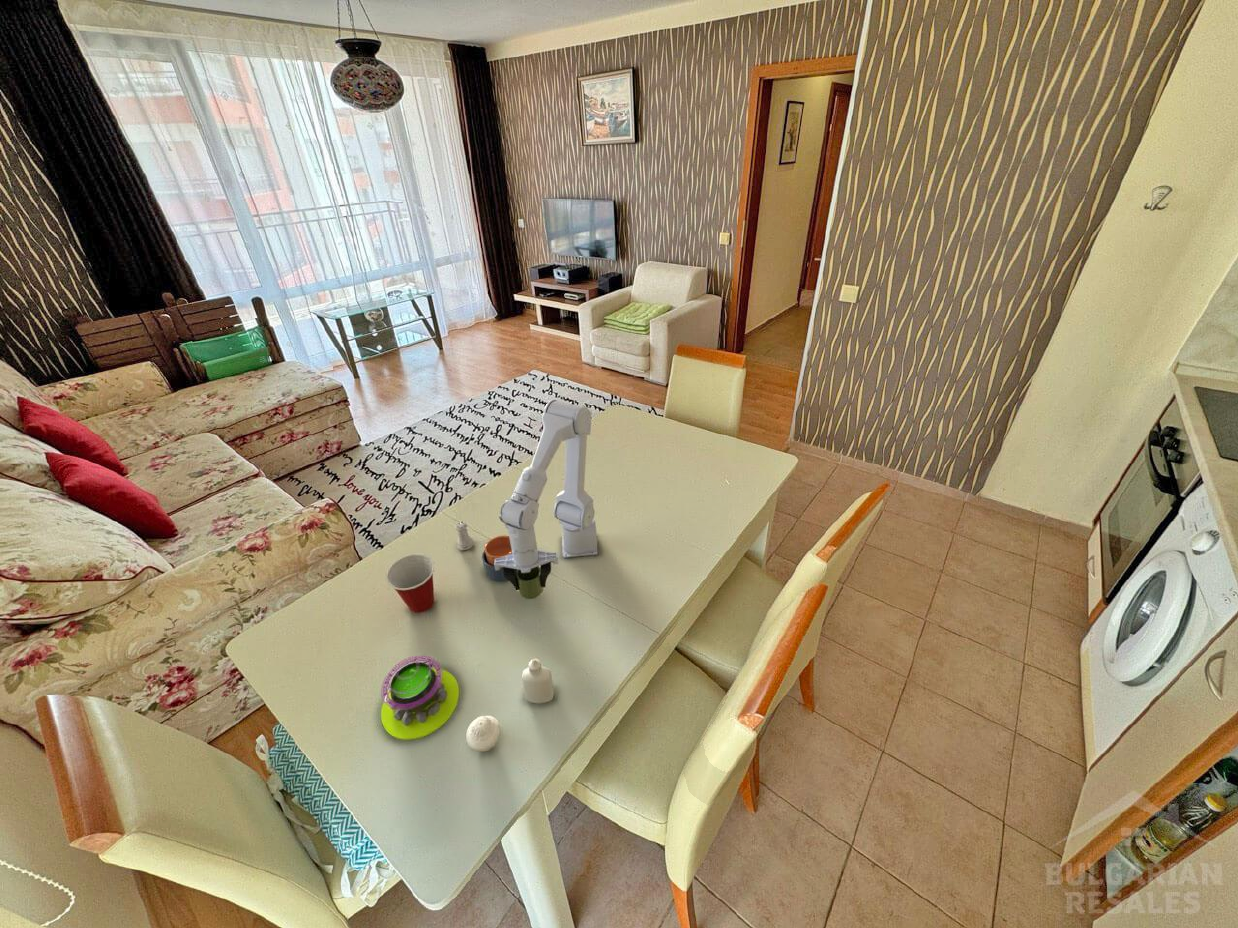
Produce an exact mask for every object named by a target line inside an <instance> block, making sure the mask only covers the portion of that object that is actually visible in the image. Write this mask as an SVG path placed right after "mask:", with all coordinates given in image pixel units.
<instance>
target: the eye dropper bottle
mask: <svg viewBox="0 0 1238 928" xmlns="http://www.w3.org/2000/svg"><path fill="white" fill-rule="evenodd" d="M521 682H522V686H523V691H524V696H525V697H524V698H525V700H526V701H527V702H530V703H533V704H545V703H549V702H551V701H552V700H553V699H554V695H555V693H554V692H555V690H554V689H555V688H554V682H553V676H552V671H551V669H550V668H548V667H545V666H543V665H542V662H541V661H540V659H538V658H535V657H534V658H532V659H531V660H530V661H529V662H528V665H527V668H525V669H524V670H523V671H522V675H521Z"/></svg>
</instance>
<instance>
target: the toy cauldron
mask: <svg viewBox="0 0 1238 928" xmlns="http://www.w3.org/2000/svg"><path fill="white" fill-rule="evenodd" d="M390 681H391V682H390ZM388 688H389V689H388ZM380 689H382V692H380V697H381V699H382V701H383V702H382V703H383V704H382V706H381V711H380V717H381V718H380V719H381V724H382V726H383V729H384V730H385V731H386V732H387V734H389V735H390V736H392V737H393V738H396V739H398V740H403V741H409V740H417V739H421V738H425V737H426V736H429V735H430V734H432V733H434V732H435V731H437V730H438V729H440V728H441V727H442V726H443V725H444V724H445V723H446V722H447V721H448V720H449V719H450V718H451V716H452V715H453V713H454V711H455V710H456V707H457V705H458V703H459V699H460V698H459V697H460V688H459V684H458V682H457V680H456V677H455V676H454V675H452V673H450V672H449V671H447V670H446V669H443V667H442V664H441V663H440V662H439V660H438V659H435V657H432V656H430V655H429V656H427V655H425V654H424V655H422V654H420V655H415V656H410V657H406V658H404V659H402V660H401V661H399V662H398V663H396V664H395V665H394V666H393V668H392V669H391V670H390V672H388V673H387V674H386V676H385V677H384V679H383V681H382V684H381V687H380Z"/></svg>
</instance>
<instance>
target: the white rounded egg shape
mask: <svg viewBox="0 0 1238 928" xmlns="http://www.w3.org/2000/svg"><path fill="white" fill-rule="evenodd" d="M500 734H501V725H500V723H499V721H498V719H497V718H495V717H493V716H491V715H480V716H478V717H477V718H476V719H474V720H473V721H471V723H470V724H469V726H468V728H467V730H466V735H465V736H466V737H465V738H466V739H465V740H466V742H467V745H468V747H470V749H473V750H474V751H476V752H487V751H490V750H492V749H493V747H495V745H496V744H497V742H498V740H499V737H500V736H501V735H500Z"/></svg>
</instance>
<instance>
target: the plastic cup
mask: <svg viewBox="0 0 1238 928" xmlns="http://www.w3.org/2000/svg"><path fill="white" fill-rule="evenodd" d="M434 572H435V561H434V560H433V559H432V557H431V556H429V555H427V554H424V553H417V552H415V553H411V554H406V555H403V556H402V557H400V558H397V559H396V560H395V561H394V562H392V563H391V564H390V565H389V567H388V569H387V570H386V572H385V580H386V583H387V585H388V586H389V587H391V588H392V589H394V590H395V591H396V593H398V596H399V597H400V598H401V599H402V601H403V602H404V604H406V606H407V607H408V609H409V610H410V611H411V612H413V613H415V614H420V613H424V612H426V611H428V610H430V609H431V608H432V606H433V605H434V603H435V602H434V601H435V593H434V590H435V589H434Z"/></svg>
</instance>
